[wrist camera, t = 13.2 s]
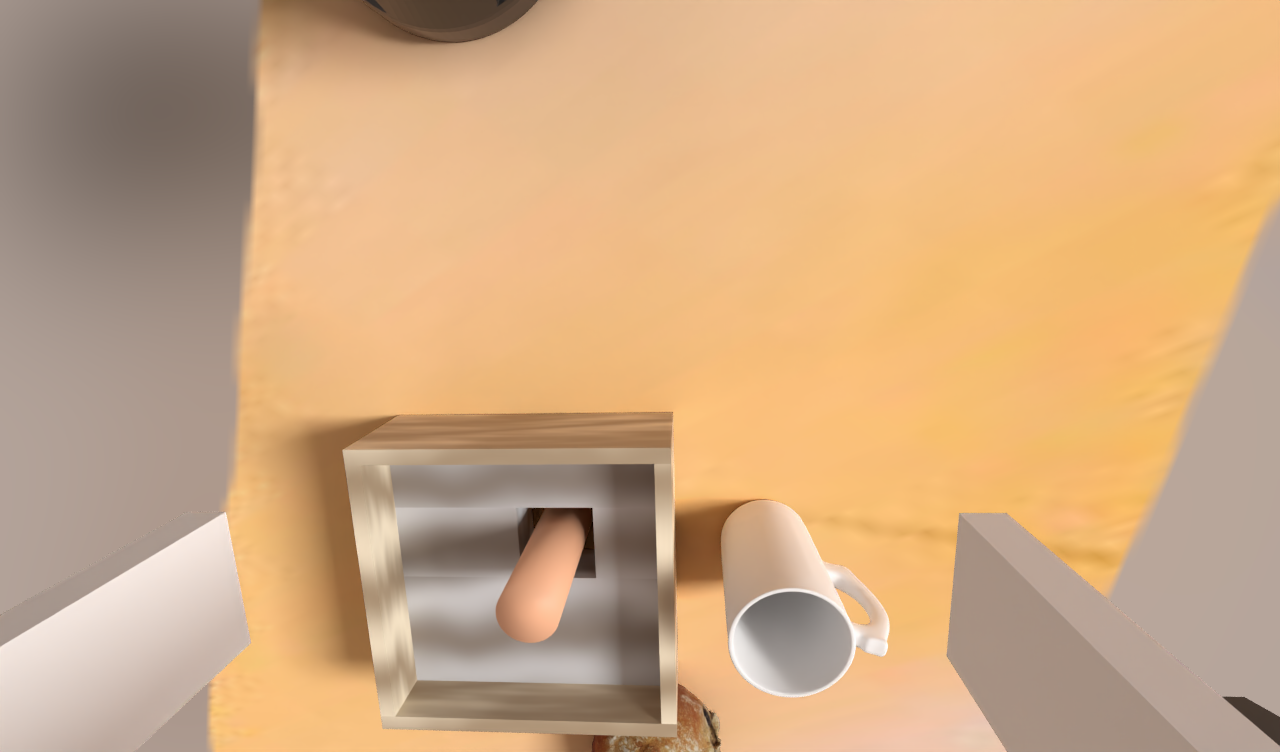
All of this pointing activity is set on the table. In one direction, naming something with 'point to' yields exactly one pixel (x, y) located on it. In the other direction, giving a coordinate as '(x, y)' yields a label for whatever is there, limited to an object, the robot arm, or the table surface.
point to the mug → (790, 604)
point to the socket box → (486, 556)
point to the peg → (543, 575)
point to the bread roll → (695, 732)
